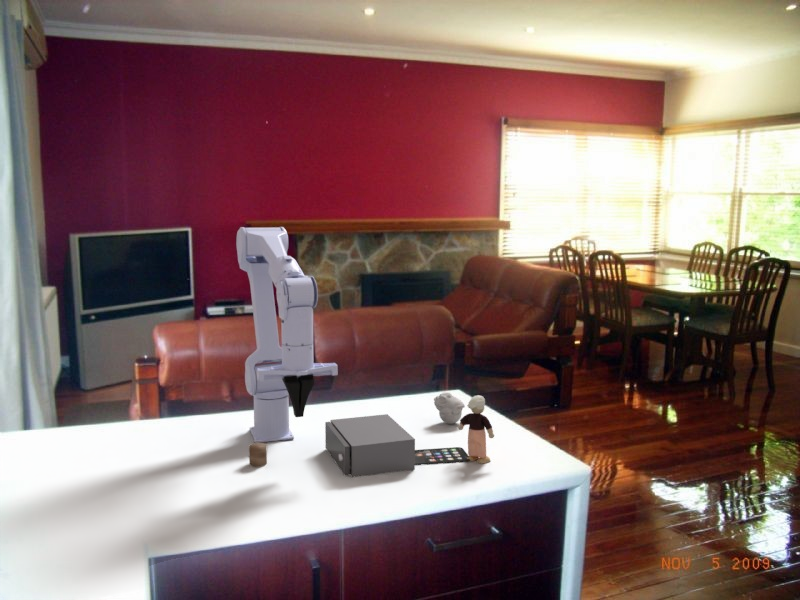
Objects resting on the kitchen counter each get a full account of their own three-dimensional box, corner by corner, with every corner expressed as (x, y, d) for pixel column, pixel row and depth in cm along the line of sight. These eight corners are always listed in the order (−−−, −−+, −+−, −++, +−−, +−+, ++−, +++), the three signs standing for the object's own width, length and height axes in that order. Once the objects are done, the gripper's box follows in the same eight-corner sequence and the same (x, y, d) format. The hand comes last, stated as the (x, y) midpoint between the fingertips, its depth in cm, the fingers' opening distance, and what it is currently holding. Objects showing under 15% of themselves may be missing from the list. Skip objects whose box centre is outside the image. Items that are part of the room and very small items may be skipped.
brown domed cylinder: (248, 461, 131) (248, 443, 131) (265, 459, 132) (265, 442, 132) (250, 467, 128) (250, 449, 128) (268, 465, 129) (267, 447, 129)
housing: (330, 447, 139) (330, 419, 138) (387, 441, 143) (387, 414, 142) (352, 477, 124) (352, 446, 123) (414, 469, 128) (414, 439, 127)
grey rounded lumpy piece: (435, 418, 159) (435, 388, 158) (465, 420, 157) (466, 390, 156) (431, 426, 153) (431, 395, 152) (463, 428, 151) (463, 397, 150)
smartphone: (388, 451, 136) (461, 446, 139) (388, 454, 137) (461, 449, 139) (394, 465, 129) (472, 460, 132) (394, 468, 129) (472, 463, 132)
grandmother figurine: (497, 459, 133) (499, 395, 132) (491, 465, 130) (493, 400, 128) (460, 453, 136) (461, 390, 135) (453, 459, 133) (454, 395, 131)
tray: (323, 448, 138) (322, 422, 137) (381, 441, 142) (381, 416, 141) (342, 475, 124) (342, 447, 123) (406, 467, 128) (406, 439, 127)
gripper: (260, 350, 119) (262, 425, 121) (341, 344, 124) (342, 417, 126) (254, 342, 126) (256, 414, 128) (332, 337, 131) (332, 407, 133)
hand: (298, 415), depth 127 cm, fingers closed
